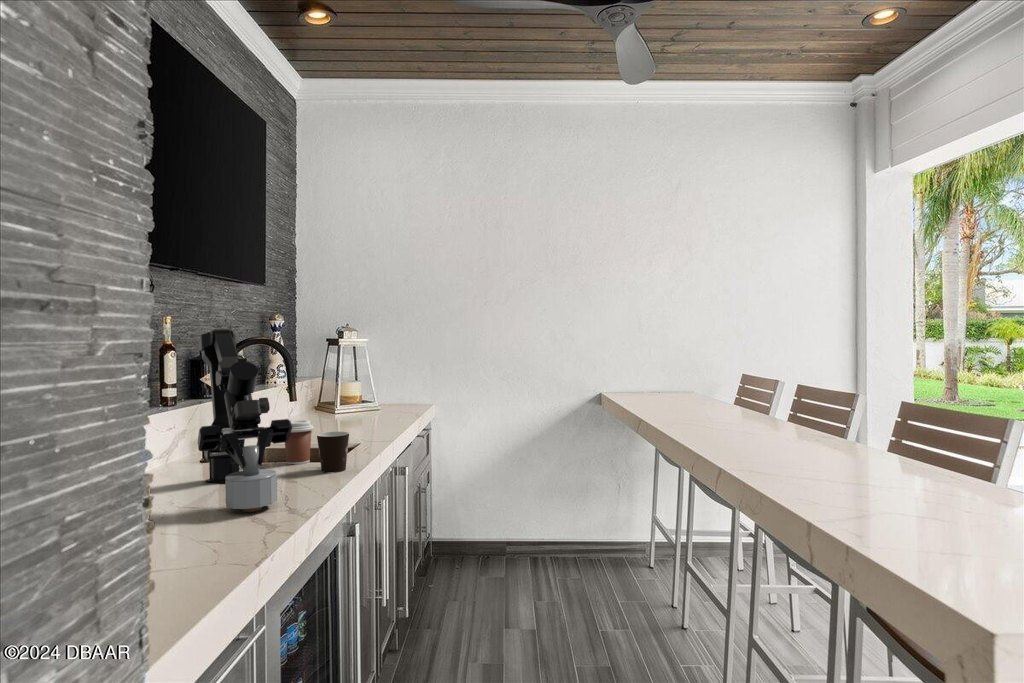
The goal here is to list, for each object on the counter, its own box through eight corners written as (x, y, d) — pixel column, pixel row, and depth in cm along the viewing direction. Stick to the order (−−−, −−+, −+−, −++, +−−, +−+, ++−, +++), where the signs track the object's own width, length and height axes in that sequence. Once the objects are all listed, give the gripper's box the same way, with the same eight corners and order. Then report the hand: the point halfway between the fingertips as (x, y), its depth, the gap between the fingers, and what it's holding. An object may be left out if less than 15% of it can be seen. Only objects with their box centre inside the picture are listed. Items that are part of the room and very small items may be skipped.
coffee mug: (340, 474, 167) (340, 436, 167) (311, 473, 169) (310, 436, 168) (359, 464, 178) (359, 430, 178) (332, 464, 180) (331, 429, 180)
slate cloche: (216, 504, 133) (215, 448, 132) (258, 493, 141) (257, 441, 141) (243, 511, 127) (242, 452, 127) (286, 500, 135) (285, 445, 135)
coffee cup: (315, 458, 189) (315, 419, 188) (312, 464, 180) (312, 423, 180) (284, 460, 187) (283, 420, 187) (279, 466, 178) (278, 424, 178)
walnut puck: (237, 511, 132) (237, 497, 132) (249, 506, 136) (249, 493, 136) (253, 512, 131) (253, 498, 131) (265, 507, 135) (265, 493, 135)
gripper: (198, 388, 132) (207, 448, 123) (289, 383, 142) (303, 438, 133) (193, 421, 138) (202, 480, 129) (280, 414, 149) (294, 468, 140)
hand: (252, 466), depth 133 cm, fingers closed on slate cloche, 3 cm apart
